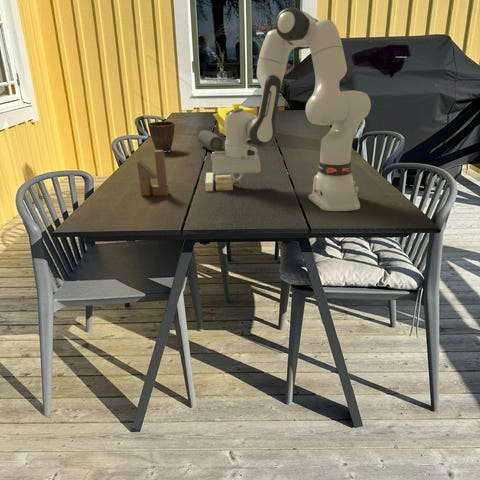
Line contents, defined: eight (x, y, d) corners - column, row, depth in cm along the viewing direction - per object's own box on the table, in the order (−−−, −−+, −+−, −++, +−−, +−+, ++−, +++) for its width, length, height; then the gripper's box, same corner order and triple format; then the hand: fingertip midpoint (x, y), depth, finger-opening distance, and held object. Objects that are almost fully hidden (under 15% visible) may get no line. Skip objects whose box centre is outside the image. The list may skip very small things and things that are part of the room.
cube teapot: (205, 135, 291) (203, 102, 282) (245, 131, 302) (244, 99, 293) (225, 144, 262) (224, 108, 253) (268, 139, 273) (269, 104, 264)
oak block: (232, 190, 178) (232, 179, 177) (216, 191, 178) (215, 180, 176) (232, 184, 186) (231, 174, 184) (215, 185, 185) (215, 175, 184)
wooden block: (143, 193, 177) (138, 149, 170) (169, 193, 176) (165, 149, 169) (141, 196, 174) (135, 151, 166) (167, 195, 173) (163, 151, 166)
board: (212, 190, 178) (212, 182, 176) (205, 191, 177) (205, 183, 176) (213, 180, 192) (213, 172, 191) (206, 180, 192) (206, 172, 191)
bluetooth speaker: (224, 152, 242) (224, 134, 238) (209, 154, 239) (208, 136, 235) (212, 145, 262) (211, 128, 258) (197, 146, 259) (196, 129, 255)
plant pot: (179, 149, 254) (177, 121, 247) (173, 154, 240) (171, 125, 234) (155, 149, 255) (152, 121, 249) (147, 154, 242) (144, 125, 235)
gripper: (210, 153, 172) (212, 186, 178) (261, 151, 173) (261, 184, 178) (210, 149, 178) (212, 181, 184) (260, 148, 178) (260, 180, 184)
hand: (236, 183), depth 181 cm, fingers closed
